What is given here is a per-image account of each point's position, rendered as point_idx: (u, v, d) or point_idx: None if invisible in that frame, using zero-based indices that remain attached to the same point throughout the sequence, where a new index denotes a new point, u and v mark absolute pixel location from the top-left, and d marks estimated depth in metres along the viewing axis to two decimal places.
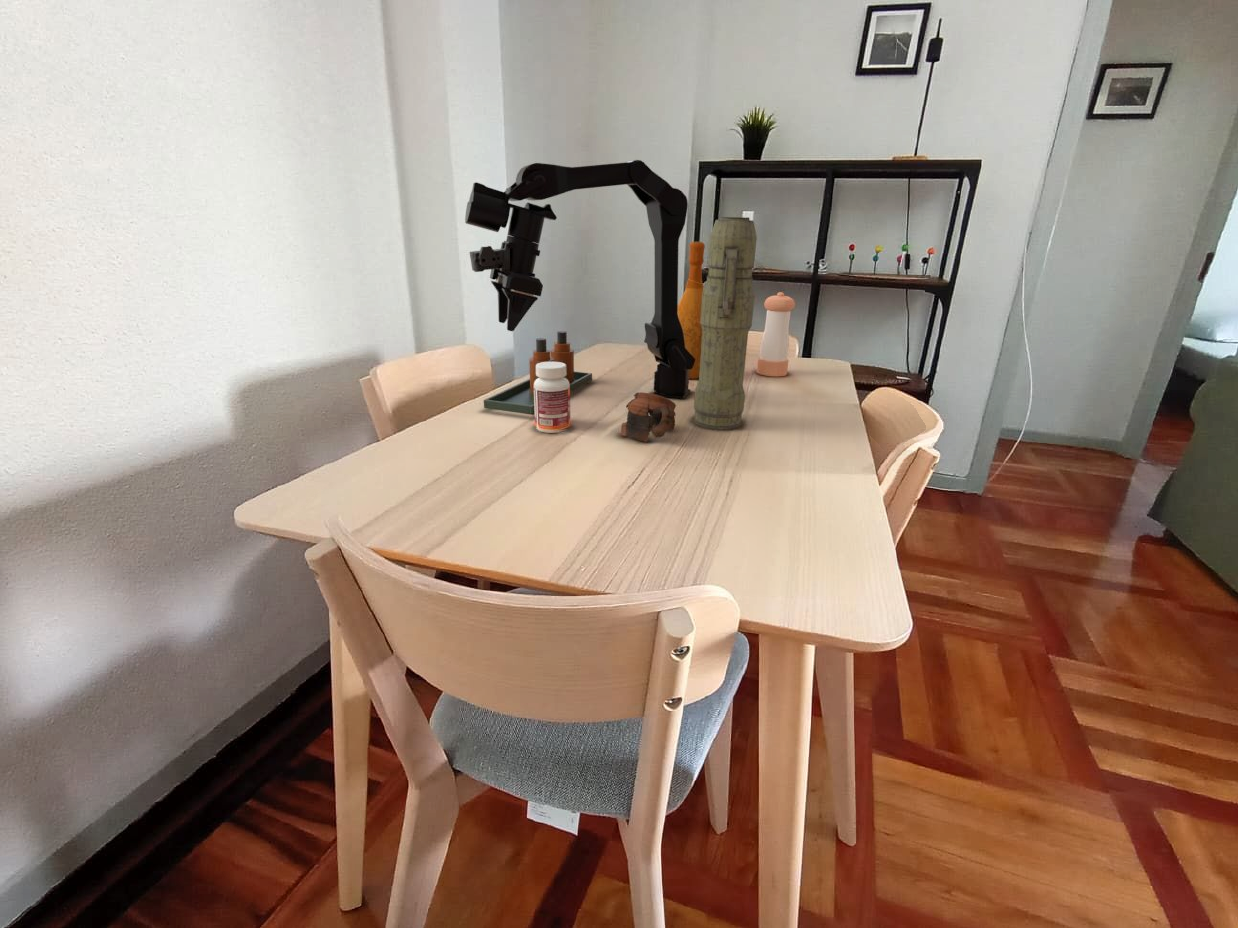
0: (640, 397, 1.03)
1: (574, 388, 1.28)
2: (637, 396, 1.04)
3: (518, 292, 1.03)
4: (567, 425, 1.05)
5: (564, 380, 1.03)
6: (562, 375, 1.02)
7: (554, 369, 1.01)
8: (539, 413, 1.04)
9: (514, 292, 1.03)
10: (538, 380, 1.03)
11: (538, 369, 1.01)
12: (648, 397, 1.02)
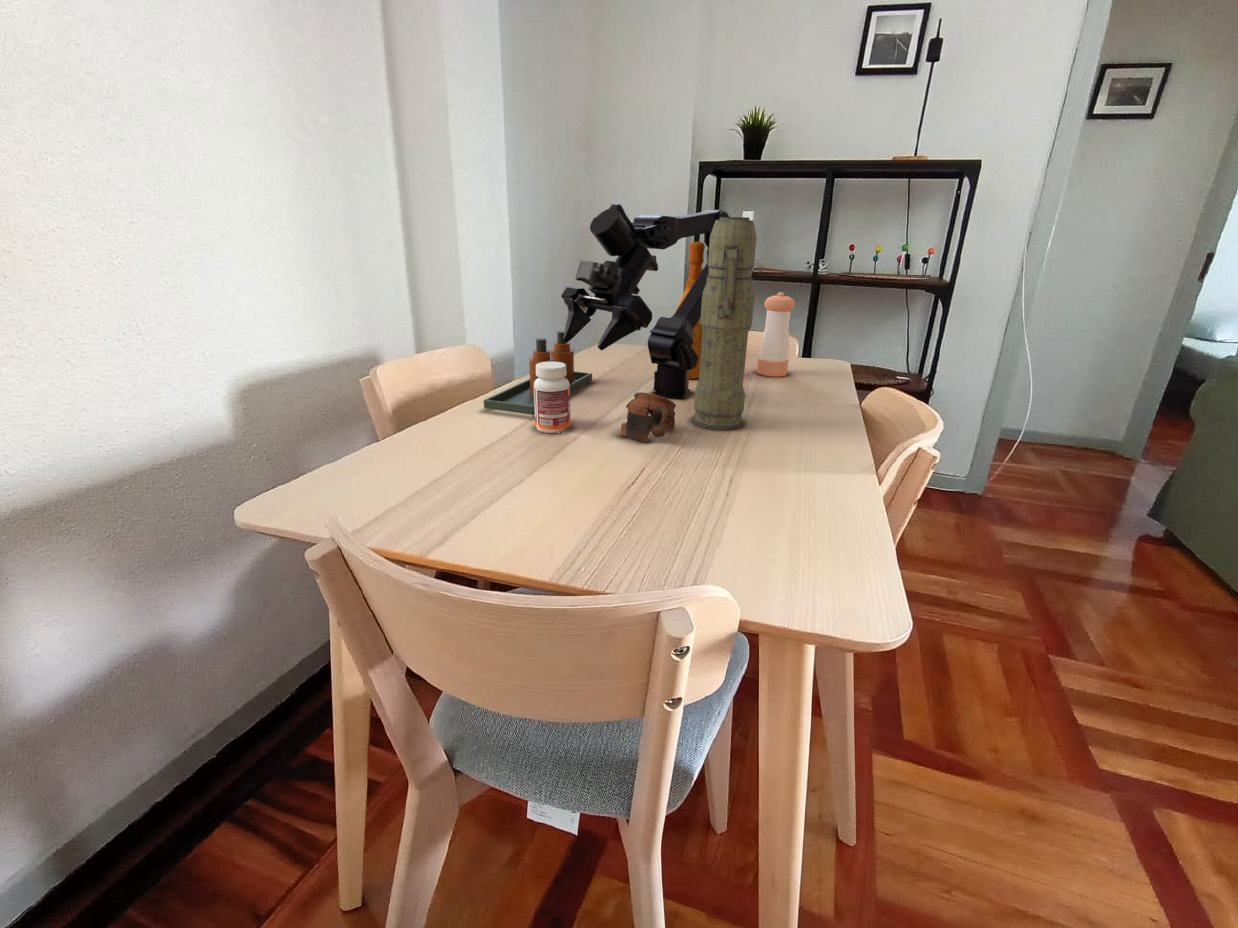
0: (640, 397, 1.03)
1: (574, 388, 1.28)
2: (637, 396, 1.04)
3: (632, 315, 1.03)
4: (567, 425, 1.05)
5: (564, 380, 1.03)
6: (562, 375, 1.02)
7: (554, 369, 1.01)
8: (539, 413, 1.04)
9: (629, 313, 1.03)
10: (538, 380, 1.03)
11: (538, 369, 1.01)
12: (648, 397, 1.02)
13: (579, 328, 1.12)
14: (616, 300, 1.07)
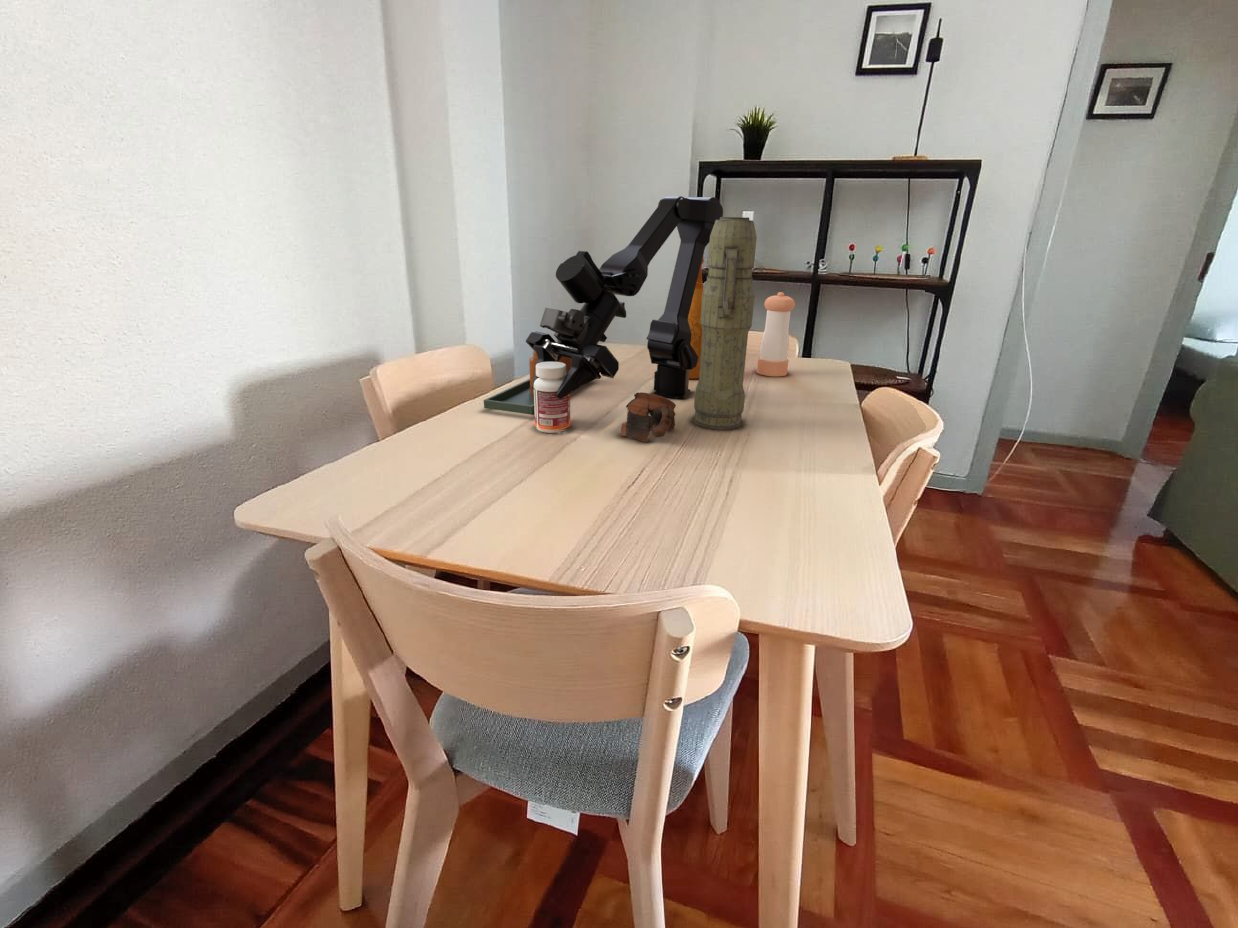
0: (640, 397, 1.03)
1: None
2: (637, 396, 1.04)
3: (591, 364, 1.00)
4: (567, 425, 1.05)
5: None
6: (562, 375, 1.02)
7: (554, 369, 1.01)
8: (539, 413, 1.04)
9: (589, 362, 1.00)
10: (538, 380, 1.03)
11: (538, 369, 1.01)
12: (648, 397, 1.02)
13: None
14: (582, 348, 1.03)
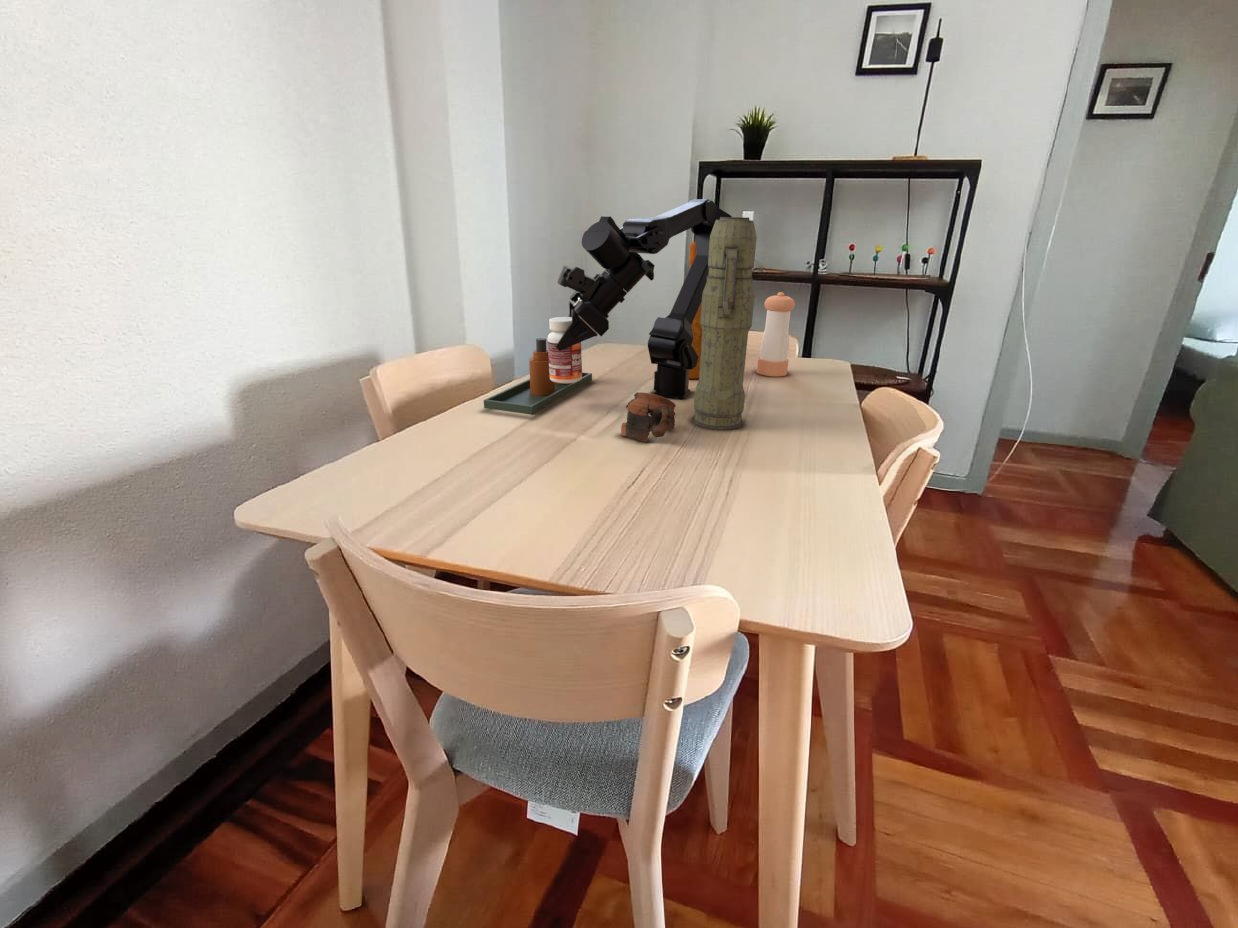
0: (640, 397, 1.03)
1: (574, 388, 1.28)
2: (637, 396, 1.04)
3: (583, 320, 1.05)
4: (571, 378, 1.12)
5: None
6: (565, 329, 1.09)
7: (557, 322, 1.08)
8: (549, 362, 1.13)
9: (580, 318, 1.04)
10: (551, 332, 1.12)
11: (549, 321, 1.11)
12: (648, 397, 1.02)
13: None
14: None
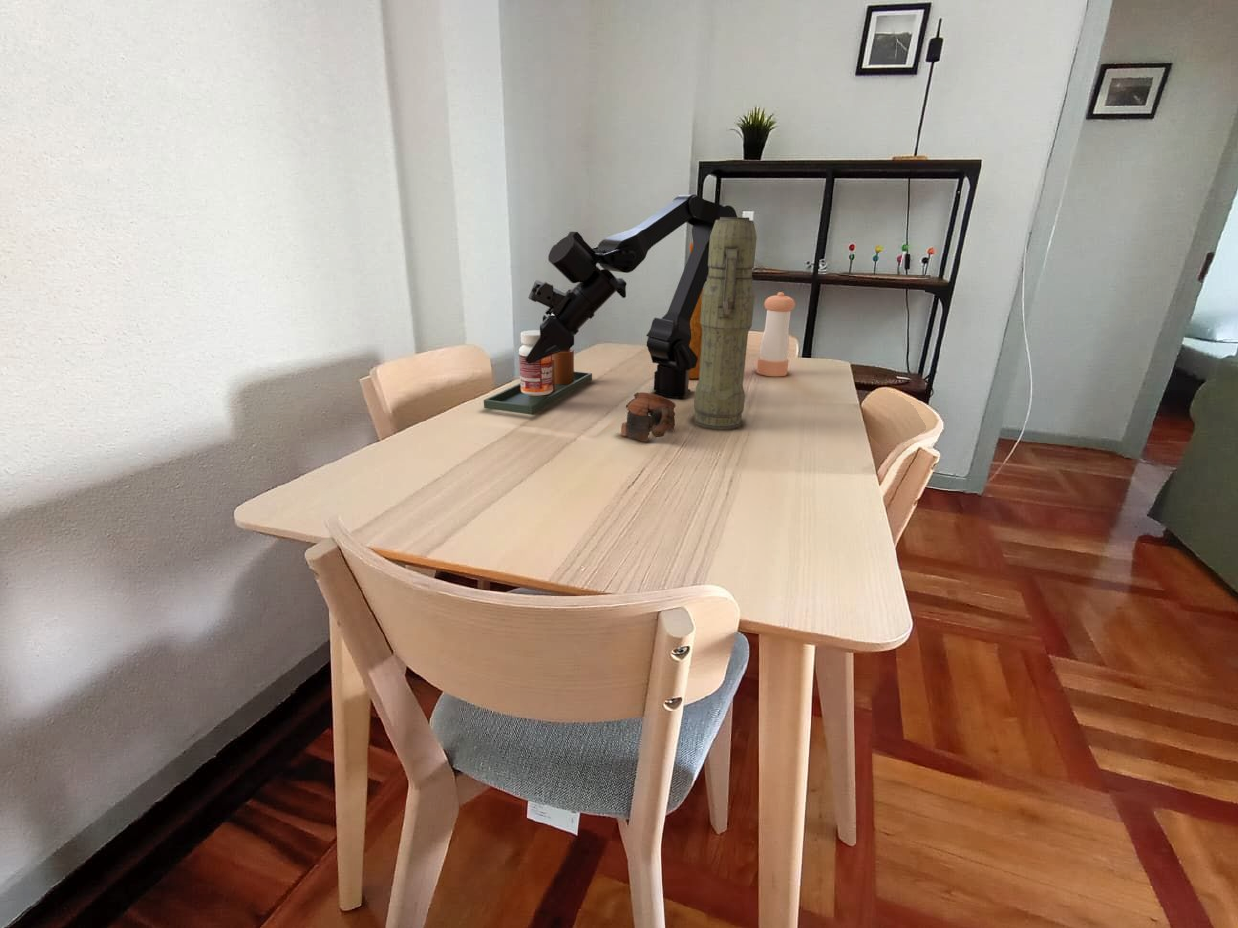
0: (640, 397, 1.03)
1: (574, 388, 1.28)
2: (637, 396, 1.04)
3: None
4: (540, 390, 1.13)
5: None
6: (535, 343, 1.10)
7: (527, 336, 1.10)
8: (520, 374, 1.15)
9: (547, 333, 1.06)
10: None
11: None
12: (648, 397, 1.02)
13: None
14: None
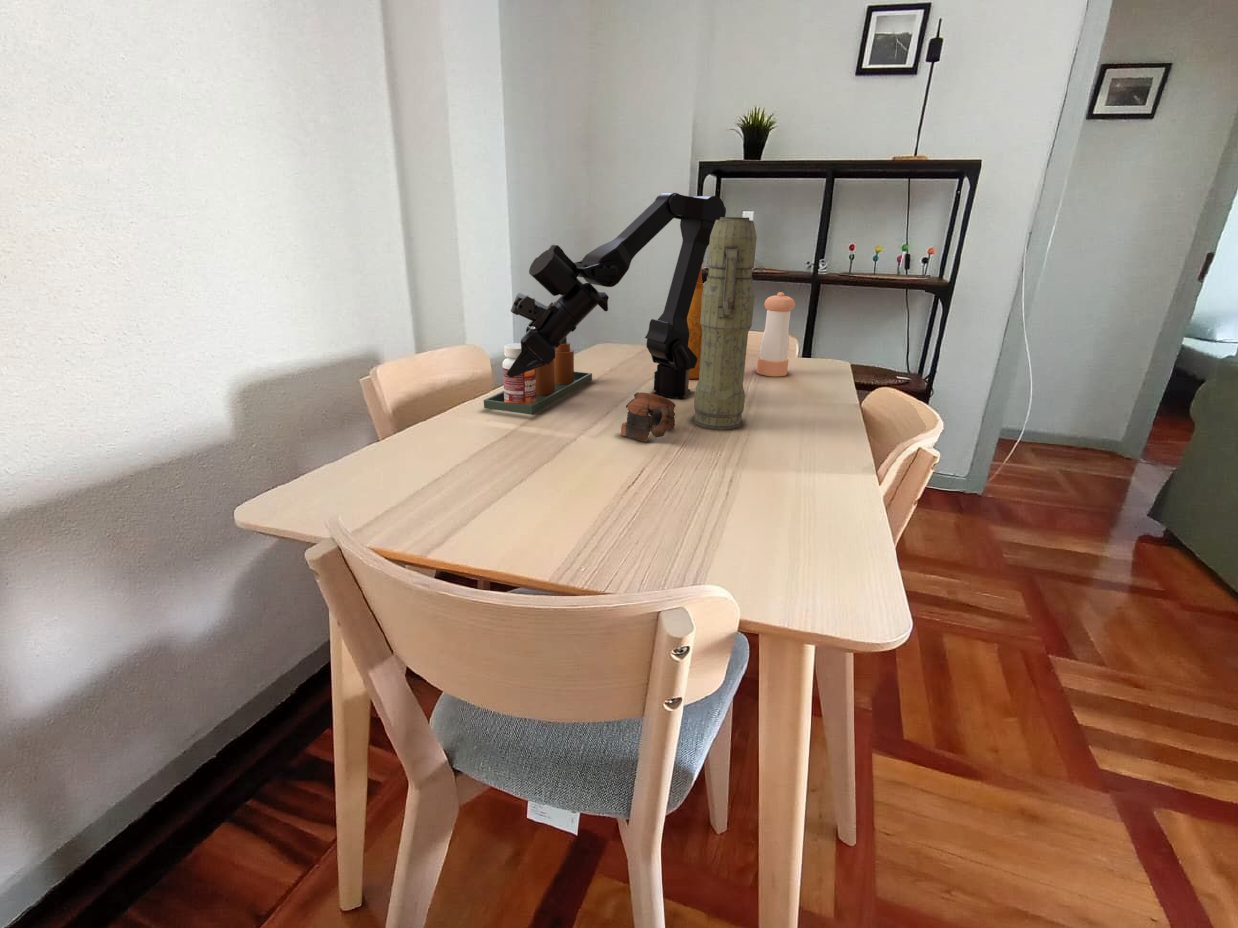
0: (640, 397, 1.03)
1: (574, 388, 1.28)
2: (637, 396, 1.04)
3: (531, 349, 1.06)
4: (523, 403, 1.14)
5: None
6: None
7: (510, 349, 1.11)
8: None
9: (528, 347, 1.06)
10: (507, 358, 1.14)
11: (504, 348, 1.13)
12: (648, 397, 1.02)
13: None
14: (541, 334, 1.10)
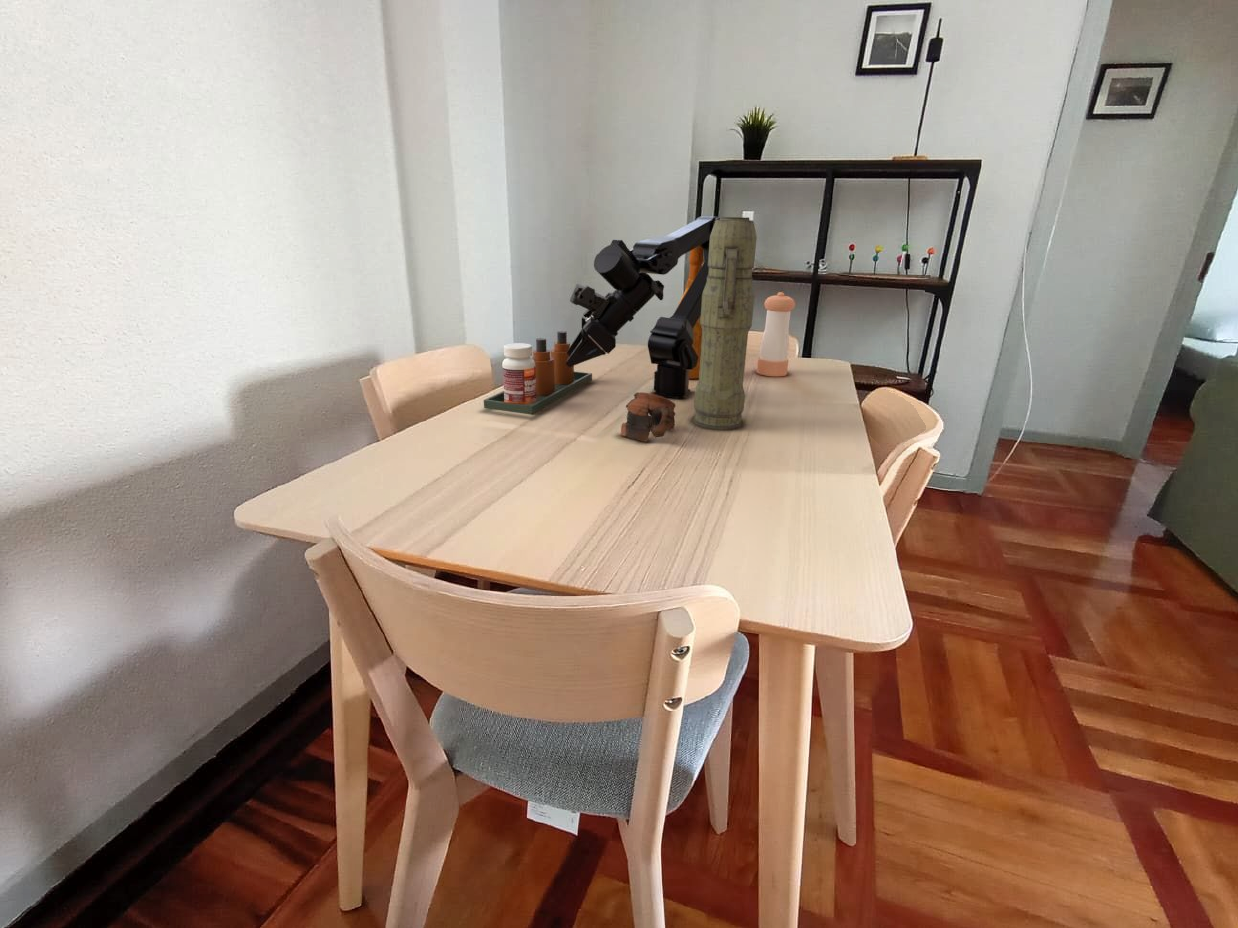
0: (640, 397, 1.03)
1: (574, 388, 1.28)
2: (637, 396, 1.04)
3: (592, 339, 1.08)
4: (523, 403, 1.14)
5: (523, 361, 1.12)
6: (518, 356, 1.11)
7: (510, 349, 1.11)
8: None
9: (589, 337, 1.07)
10: (506, 358, 1.15)
11: None
12: (647, 397, 1.02)
13: None
14: None
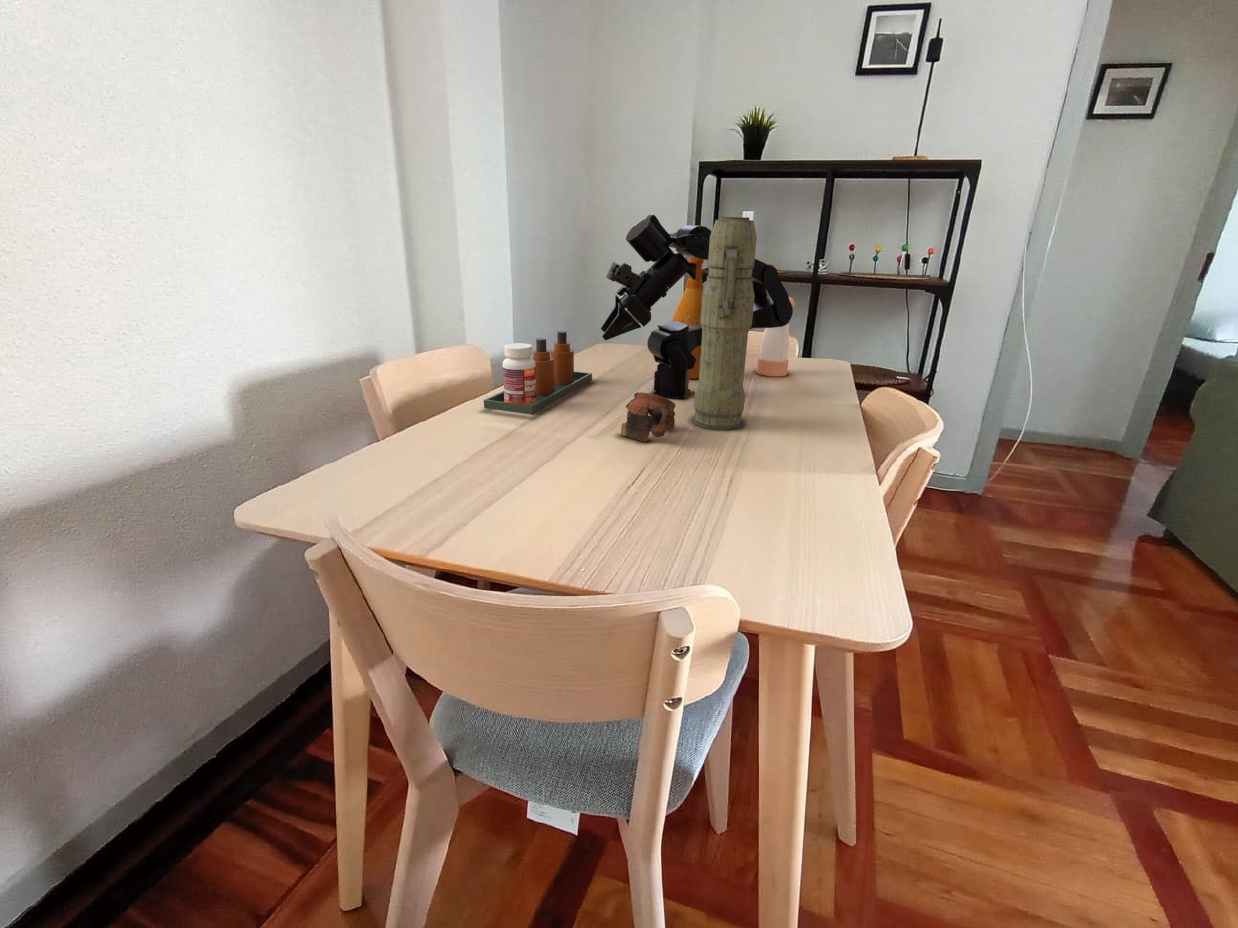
0: (640, 397, 1.03)
1: (574, 388, 1.28)
2: (637, 396, 1.04)
3: (629, 313, 1.14)
4: (523, 403, 1.14)
5: (523, 361, 1.12)
6: (518, 356, 1.11)
7: (510, 349, 1.11)
8: None
9: (626, 311, 1.14)
10: (507, 357, 1.15)
11: (504, 347, 1.13)
12: (647, 397, 1.02)
13: None
14: None
